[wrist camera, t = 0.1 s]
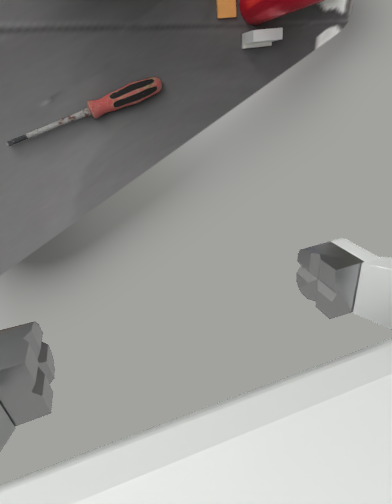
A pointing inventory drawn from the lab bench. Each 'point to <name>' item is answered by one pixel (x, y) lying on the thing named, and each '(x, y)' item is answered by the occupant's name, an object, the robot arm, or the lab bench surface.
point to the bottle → (270, 9)
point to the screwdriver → (104, 104)
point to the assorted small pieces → (251, 38)
